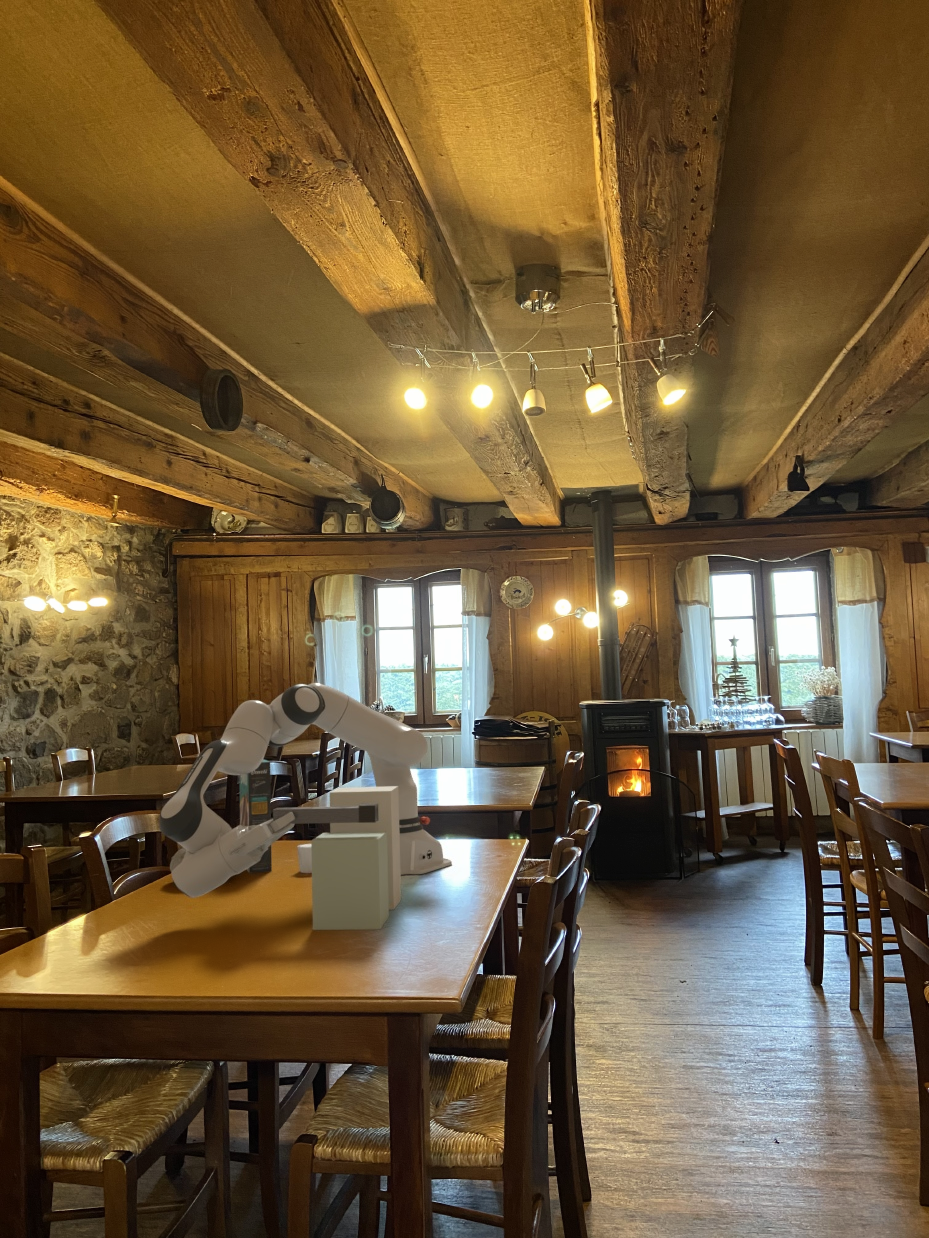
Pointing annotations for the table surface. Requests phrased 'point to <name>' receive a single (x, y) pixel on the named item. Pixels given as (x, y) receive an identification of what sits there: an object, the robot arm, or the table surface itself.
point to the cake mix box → (256, 807)
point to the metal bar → (331, 814)
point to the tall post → (375, 826)
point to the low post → (350, 881)
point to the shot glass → (305, 858)
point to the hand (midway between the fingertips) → (297, 813)
